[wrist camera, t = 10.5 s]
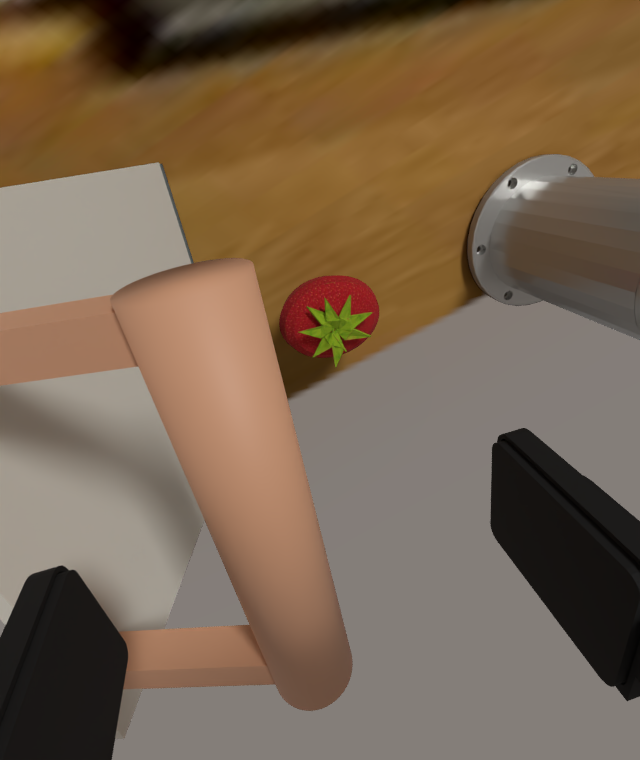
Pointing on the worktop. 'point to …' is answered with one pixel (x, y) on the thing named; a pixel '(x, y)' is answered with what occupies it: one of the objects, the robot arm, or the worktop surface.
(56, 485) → the flap
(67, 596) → the robot arm
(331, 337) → the strawberry
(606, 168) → the worktop surface
